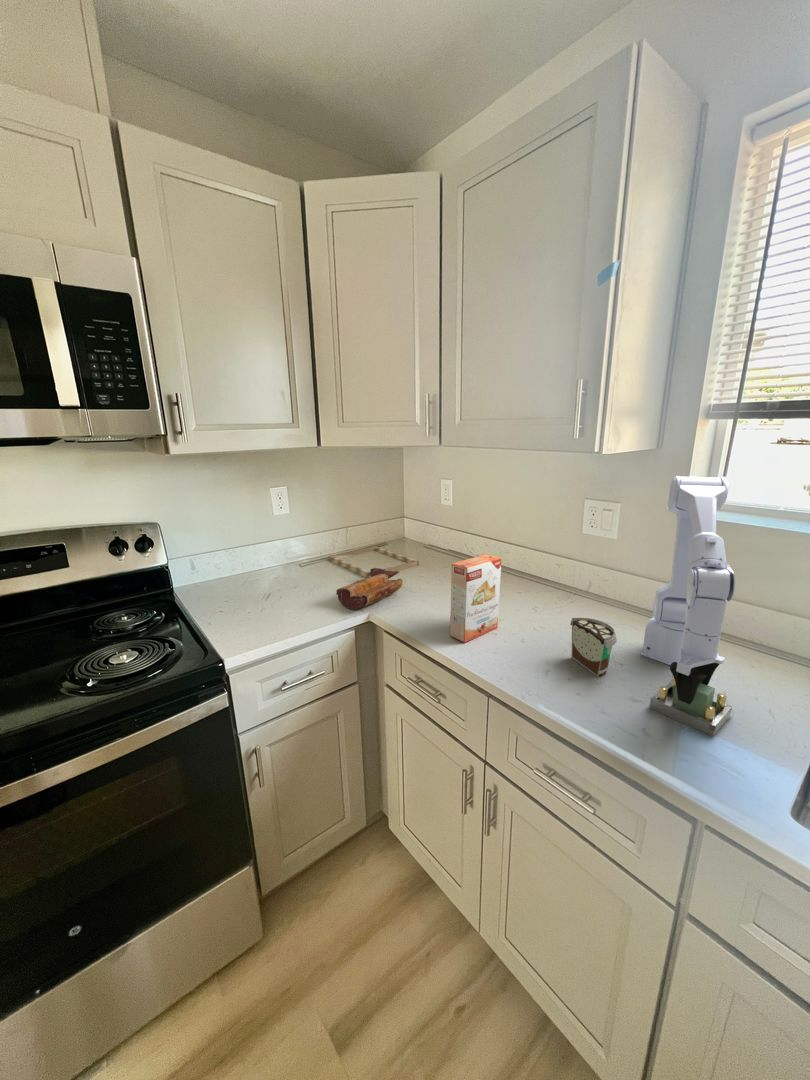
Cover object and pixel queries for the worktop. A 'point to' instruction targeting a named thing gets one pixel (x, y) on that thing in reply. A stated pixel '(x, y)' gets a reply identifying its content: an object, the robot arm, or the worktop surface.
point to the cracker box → (475, 597)
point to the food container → (592, 644)
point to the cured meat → (369, 589)
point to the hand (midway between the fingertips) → (692, 694)
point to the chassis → (708, 725)
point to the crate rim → (363, 572)
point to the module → (696, 700)
